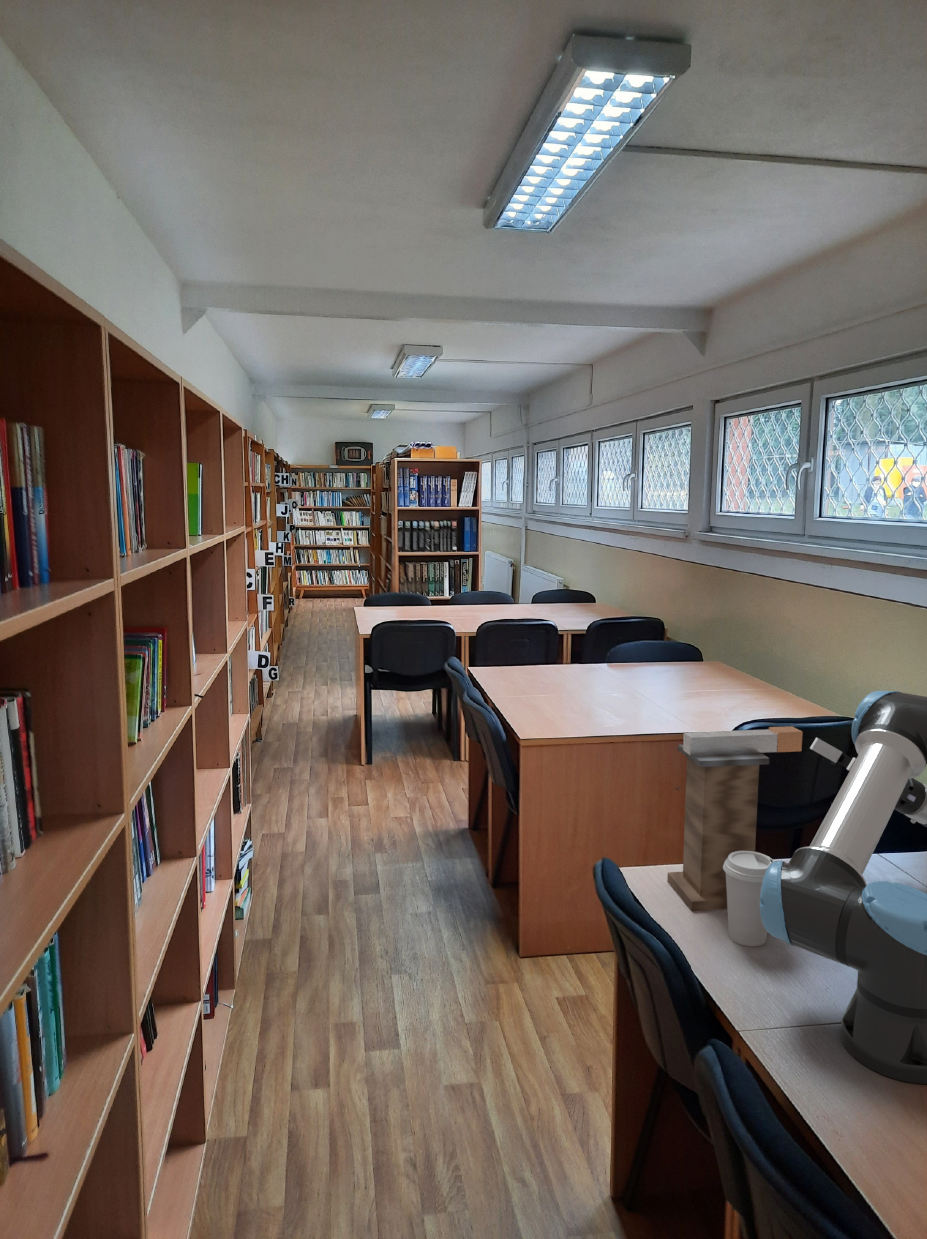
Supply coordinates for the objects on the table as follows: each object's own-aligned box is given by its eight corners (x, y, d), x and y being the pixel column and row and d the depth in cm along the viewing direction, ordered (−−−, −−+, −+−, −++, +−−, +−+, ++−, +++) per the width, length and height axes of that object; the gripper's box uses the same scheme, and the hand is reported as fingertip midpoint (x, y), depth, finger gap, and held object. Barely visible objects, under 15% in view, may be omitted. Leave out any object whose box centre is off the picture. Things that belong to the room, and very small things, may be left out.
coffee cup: (769, 956, 146) (773, 875, 144) (714, 942, 151) (717, 863, 149) (779, 932, 154) (783, 855, 152) (726, 919, 159) (729, 844, 157)
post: (739, 877, 177) (746, 740, 173) (769, 906, 164) (776, 759, 160) (667, 881, 175) (672, 743, 171) (691, 911, 162) (697, 762, 158)
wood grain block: (791, 745, 169) (792, 726, 169) (801, 751, 165) (802, 731, 165) (682, 749, 167) (683, 730, 166) (690, 755, 163) (691, 735, 162)
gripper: (944, 838, 160) (857, 790, 156) (867, 793, 185) (791, 750, 181) (964, 805, 160) (878, 755, 156) (885, 764, 184) (809, 720, 180)
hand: (831, 752), depth 168 cm, fingers open, 13 cm apart
